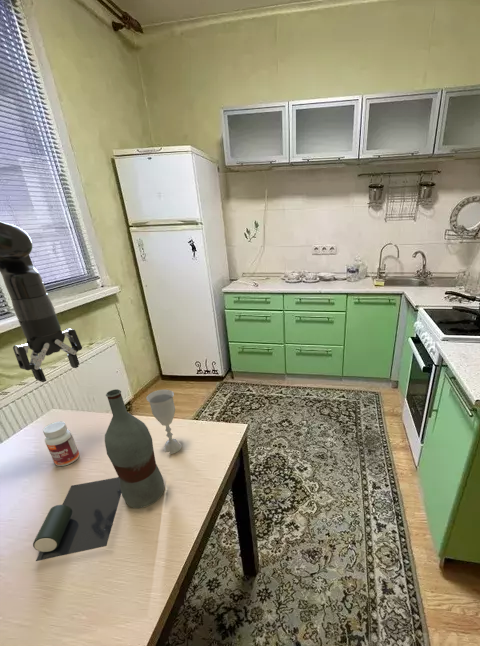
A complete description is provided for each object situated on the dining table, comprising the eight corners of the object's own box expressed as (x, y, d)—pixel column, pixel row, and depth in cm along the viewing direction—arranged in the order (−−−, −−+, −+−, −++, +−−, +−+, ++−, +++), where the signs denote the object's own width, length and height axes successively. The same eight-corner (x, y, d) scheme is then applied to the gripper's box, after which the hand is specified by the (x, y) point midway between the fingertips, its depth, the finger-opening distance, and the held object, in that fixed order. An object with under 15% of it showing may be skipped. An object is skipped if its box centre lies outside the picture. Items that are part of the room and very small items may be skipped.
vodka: (124, 518, 74) (83, 409, 60) (126, 490, 81) (90, 386, 68) (167, 505, 77) (137, 398, 63) (165, 478, 84) (138, 378, 71)
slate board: (38, 565, 65) (35, 561, 64) (73, 489, 82) (71, 485, 81) (108, 550, 67) (106, 545, 66) (127, 479, 84) (126, 475, 84)
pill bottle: (52, 469, 89) (36, 436, 84) (58, 454, 94) (44, 423, 89) (77, 463, 91) (64, 431, 85) (82, 449, 96) (69, 418, 91)
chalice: (154, 452, 94) (140, 399, 86) (170, 438, 99) (158, 387, 91) (175, 458, 91) (162, 404, 83) (190, 443, 97) (179, 392, 89)
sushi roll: (37, 555, 65) (28, 540, 63) (53, 520, 72) (46, 506, 70) (61, 549, 66) (53, 535, 64) (75, 516, 73) (69, 502, 71)
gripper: (56, 305, 85) (76, 361, 92) (-7, 321, 74) (21, 383, 81) (74, 308, 82) (93, 365, 89) (12, 325, 71) (39, 389, 78)
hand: (59, 374), depth 85 cm, fingers open, 8 cm apart
